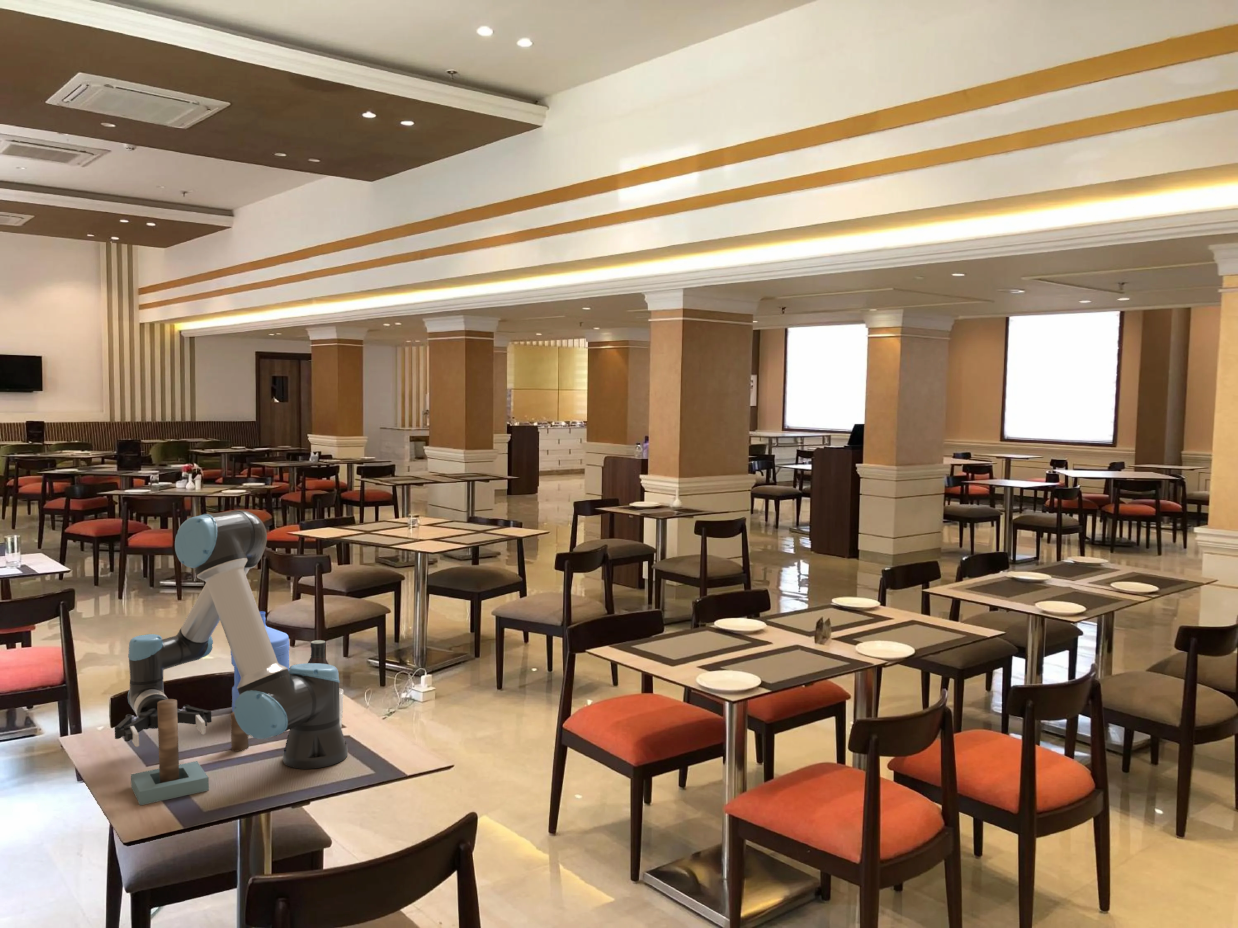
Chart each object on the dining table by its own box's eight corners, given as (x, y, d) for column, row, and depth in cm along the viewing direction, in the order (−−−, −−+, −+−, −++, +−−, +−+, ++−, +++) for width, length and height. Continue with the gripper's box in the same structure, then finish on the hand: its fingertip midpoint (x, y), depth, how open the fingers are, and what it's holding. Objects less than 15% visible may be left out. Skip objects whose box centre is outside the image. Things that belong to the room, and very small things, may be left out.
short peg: (251, 746, 242) (251, 711, 241) (239, 751, 238) (238, 716, 238) (240, 744, 244) (239, 709, 243) (227, 749, 240) (226, 714, 240)
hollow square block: (131, 786, 217) (130, 773, 216) (197, 773, 225) (197, 760, 224) (140, 805, 207) (139, 791, 207) (208, 790, 215) (208, 777, 215)
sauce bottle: (304, 715, 266) (303, 645, 265) (305, 708, 272) (304, 639, 271) (329, 713, 268) (328, 643, 267) (329, 706, 274) (328, 638, 273)
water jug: (279, 697, 282) (276, 604, 280) (299, 711, 270) (297, 613, 268) (224, 708, 272) (222, 611, 271) (242, 722, 260) (240, 621, 258)
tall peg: (183, 786, 217) (181, 700, 215) (168, 793, 213) (165, 705, 212) (171, 783, 218) (168, 698, 217) (155, 790, 215) (153, 703, 213)
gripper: (209, 714, 237) (230, 739, 220) (95, 734, 223) (108, 762, 205) (208, 685, 236) (229, 707, 219) (94, 703, 222) (107, 728, 205)
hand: (170, 734), depth 212 cm, fingers open, 13 cm apart
